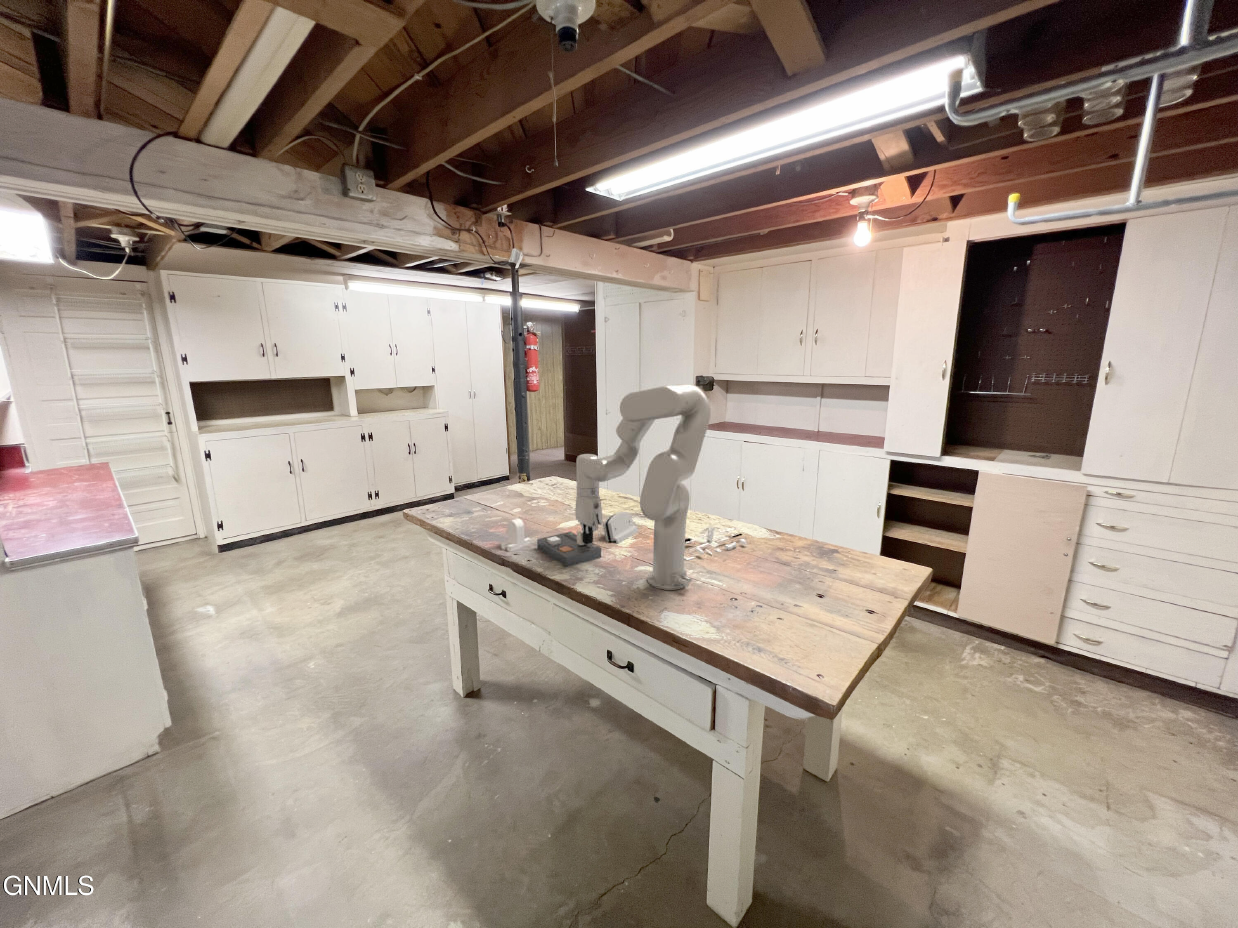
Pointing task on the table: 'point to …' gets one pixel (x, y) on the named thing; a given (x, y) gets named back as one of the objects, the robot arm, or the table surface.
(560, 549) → the terracotta key
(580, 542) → the cream tall block
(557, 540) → the grey key
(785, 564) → the table surface
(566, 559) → the control panel
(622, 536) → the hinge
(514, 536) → the cable organizer
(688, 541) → the miniature set
